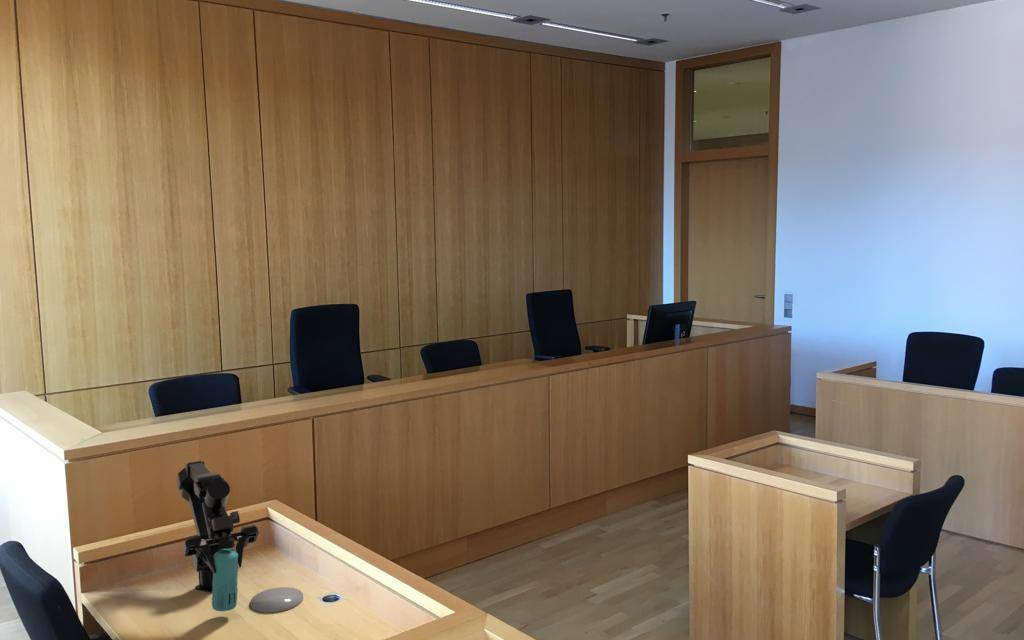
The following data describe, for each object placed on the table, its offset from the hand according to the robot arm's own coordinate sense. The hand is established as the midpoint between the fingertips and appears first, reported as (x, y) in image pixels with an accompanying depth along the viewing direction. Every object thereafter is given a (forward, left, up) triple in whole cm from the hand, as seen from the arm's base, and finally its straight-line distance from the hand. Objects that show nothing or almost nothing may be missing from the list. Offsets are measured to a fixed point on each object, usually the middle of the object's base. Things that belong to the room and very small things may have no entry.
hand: (227, 569), depth 218 cm
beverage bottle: (-2, 0, -12) cm, 12 cm away
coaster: (+5, +13, -13) cm, 19 cm away
